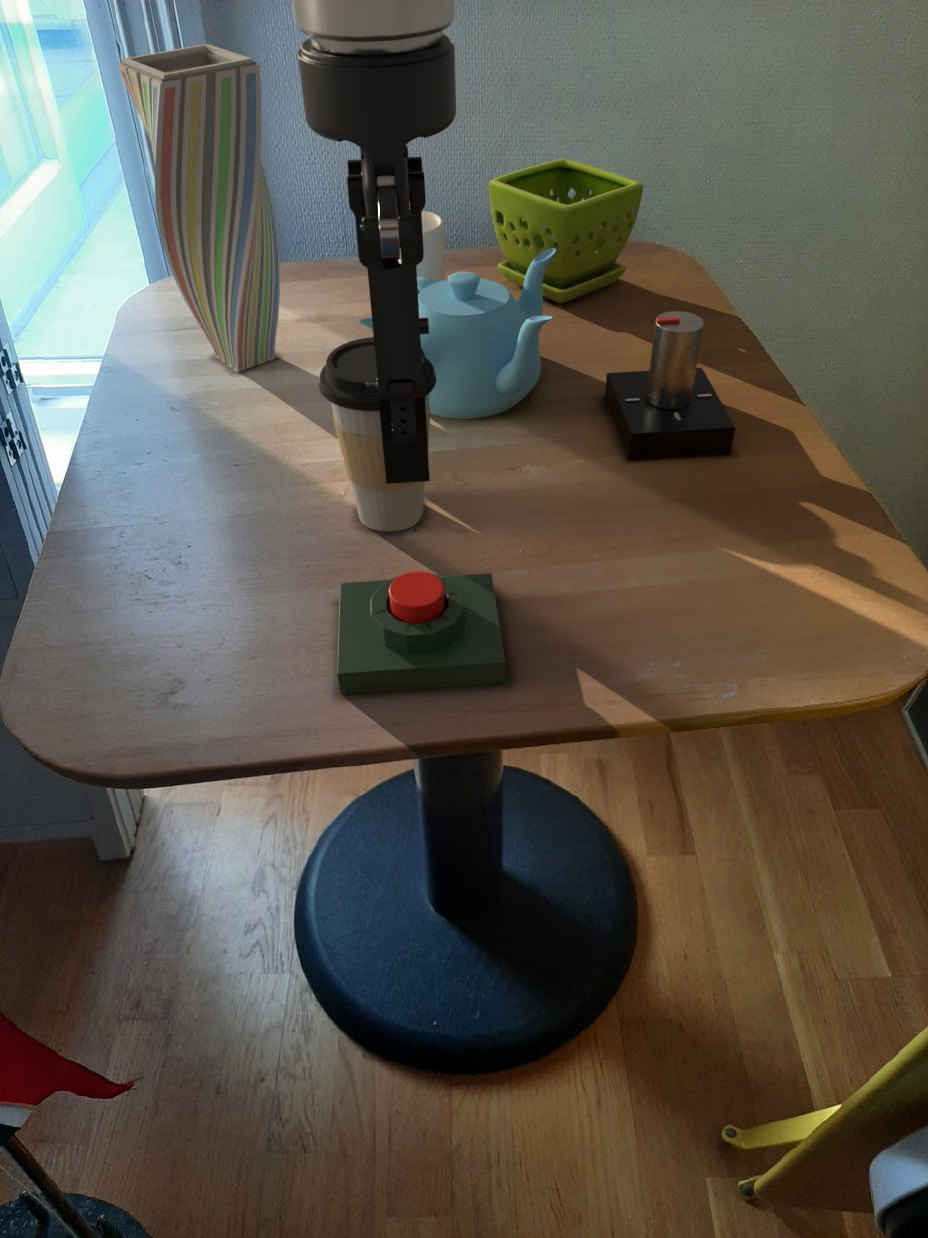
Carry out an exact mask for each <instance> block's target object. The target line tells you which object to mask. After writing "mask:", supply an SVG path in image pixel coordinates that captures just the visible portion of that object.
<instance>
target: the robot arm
mask: <svg viewBox="0 0 928 1238" xmlns="http://www.w3.org/2000/svg"><path fill="white" fill-rule="evenodd" d="M291 3H292V12H293V19H294V25H295V27H296V29H298V30H299V31H300V32H302V33H303V34H304V35H306V36H309V38H307V39H306V40H304V41H303V42H302V43H301V45H300V49H298V51H297V60H298V67H299V77H300V86H301V93H302V101H303V107H304V117H305V121H306V124H307V126H308V127H309V128H310V129H311V130H312V132H314V133H315V134H316V135H317V136H320V137H322V138H324V139H327V140H330V141H333V142H338V143H341V142H343V141H344V142H345V141H346V142H350V143H352V144H354V145H356V146H358V147H359V148H360V150H359V151H360V158H359V159H347V175H346V185H347V196H348V197H347V198H348V205H349V209H350V211H351V212H352V213H353V215H354V220H355V230H356V242H357V253H358V254H357V255H358V260H359V262H360V264H361V265H362V266H363V267H365V268H366V269H367V280H368V290H369V300H370V313H371V318H372V324H373V330H372V333H373V334H372V335H373V337H374V345H375V356H376V367H377V377H378V378H376V380H374V381H366V393H367V394H378V400H379V411H380V422H381V432H382V443H383V454H384V464H385V475H386V484H391V483H407V482H424V481H425V482H430V480H431V478H430V477H431V476H430V459H429V444H428V440H427V422H426V404H425V390H426V382H425V380H424V376H423V374H422V357H421V339H420V334H429V323H428V318H419V304H418V286H417V269H416V266H417V265H418V264H419V263H420V262H422V260H423V257H424V249H423V231H422V211H424V208H425V207H426V202H427V201H426V200H427V198H426V180H425V171H423V158H422V156H409V147H408V146H407V145H408V143H410V142H412V141H413V140H415V139H418V138H423V139H427V138H429V137H432V136H435V135H437V134H440V133H441V132H443V131H445V130H446V129H448V128H449V127H450V126H451V124H452V123H453V122H454V120H455V119H456V115H457V90H456V89H457V87H456V53H455V50H456V49H455V48H456V47H455V45H454V42H453V43H452V41H451V39H450V38H449V37H448V35H446V34H444V32H443V31H444V30H446V29H448V28H449V27H450V26H451V25H452V23H453V22H454V20H455V19H456V0H291Z"/></svg>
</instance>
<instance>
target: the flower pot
mask: <svg viewBox="0 0 928 1238" xmlns="http://www.w3.org/2000/svg"><path fill="white" fill-rule="evenodd" d="M571 189H572V190H573V191H574V192H575V194H574V196H573V197H572V198H571V196H569V192H570V190H571ZM643 192H644V183H642V182H641V181H639V180H635V179H633V178H630V177H627V176H625V175H622V174H618V173H616V172H612V171H609V170H606V169H603V168H599V167H597V166H593V165H590V164H586V163H583V162H580V161H576V160H572V159H568V158H560V159H554V160H552V161H551V160H550V161H548V162H543V163H540V164H536V165H533V166H529V167H525V168H523V169H522V168H521V169H519V170H516V171H513V172H508V173H507V174H504V175H500V176H498V177H495V178H493V179H491V180H490V181H489V183H488V194H489V205H490V213H491V217H492V218H491V219H492V223H493V227H494V232H495V235H496V238H497V241H498V243H499V246H500V248H501V250H502V253H503V255H504V257H505V259H506V260H504V261H501V262H500V263H498V264H497V268H498V270H499V272H500V274H501V275H502V276H503V277H504V278H505V279H506V280H509V281H510V282H512V283H513V284H516V285H518V286H519V287H522V288H523V285H524V280H525V276H526V273H527V270H528V268H529V266H530V264H531V262H532V261H533V260H534V258H535V257H537V256H538V255H539V254H540V253H542V252H543V251H545V250H548V249H551V248H555V249H556V252H555V254H554V256H553V257H552V258H551V260H550V262H549V263H548V265H547V267H546V270H545V272H544V277H543V287H542V292H543V298H545V299H546V298H547V299H549V300H551V301H553V302H556V303H558V304H565V303H566V302H569V301H572V300H574V299H576V298H579V297H582V296H584V295H587V294H588V293H592V292H594V291H596V290H600V289H602V288H604V287H606V286H607V287H609V286H610V285H611V284H613V283H615V282H616V281H617V280H618V279H619V278H620V277H622V275H624V273H625V271H626V270H627V267H626V266H625V265H623V264H621V263H619V262H616V261H617V259H618V257H620V255H621V253H622V251H623V250H624V248H625V247H626V245H627V242H628V240H629V238H630V236H631V233H632V232H633V228H634V226H635V224H636V220H637V217H638V213H639V210H640V207H641V206H640V205H641V202H642V197H643ZM582 199H583V200H582Z"/></svg>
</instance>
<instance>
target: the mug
mask: <svg viewBox="0 0 928 1238" xmlns="http://www.w3.org/2000/svg"><path fill="white" fill-rule="evenodd" d="M422 231H423V249H424V257H423V260H422V262H420V263H419V264H418V265H417V266H416V269H417V277H427V278H429V279H431V280H432V281H433V282H434V283H436V282H439V281H442V280H446V270H445V268H446V267H445V244H444V243H445V241H444V221H443V218H442V217H441V216H440V215H439V214H436V213H434V212H430V211H428V210H427V211H426V210H422Z"/></svg>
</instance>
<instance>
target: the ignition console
mask: <svg viewBox="0 0 928 1238" xmlns="http://www.w3.org/2000/svg"><path fill="white" fill-rule="evenodd" d="M426 573H428V572H426ZM429 573H430V574H432V575H435V576H436V577H437V578H439V579H440V580H441V582H442V584H443V587H444V603H445V606H444V610H443V612H442V613H441V615H440V616H439V617H438V618H436V619H435V620H432V621H430V622H428V623H418V624H408V623H405V622H402V621H400V620H398V619H397V618H396V617H395V616H394V615H393V613H392V612H391V607H390V597H389V588H390V585H391V583H392V582H393V581H394V580H395V579H396V578H397V577H399V576H401V575H403V574H404V573H402V574H400V575H398V576H395V577H393V578H391V579H383V580H382V579H380V580H367V581H352V582H340V583H339V606H338V607H339V608H338V637H337V639H338V640H337V671H336V672H337V673H336V675H337V680H338V681H337V682H338V687H339V692H340V693H339V694H340V695H341V696H342V695H353V694H355V695H356V694H370V693H381V692H395V691H409V690H410V691H411V690H425V689H439V688H452V687H453V688H454V687H464V686H481V685H493V684H494V685H495V684H505V683H506V657H505V650H504V645H503V638H502V631H501V625H500V619H499V612H498V606H497V601H496V594H495V588H494V580H493V575H492V574H493V573H491V572H487V573H473V574H456V575H438V574H435V573H431V572H429Z"/></svg>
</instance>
